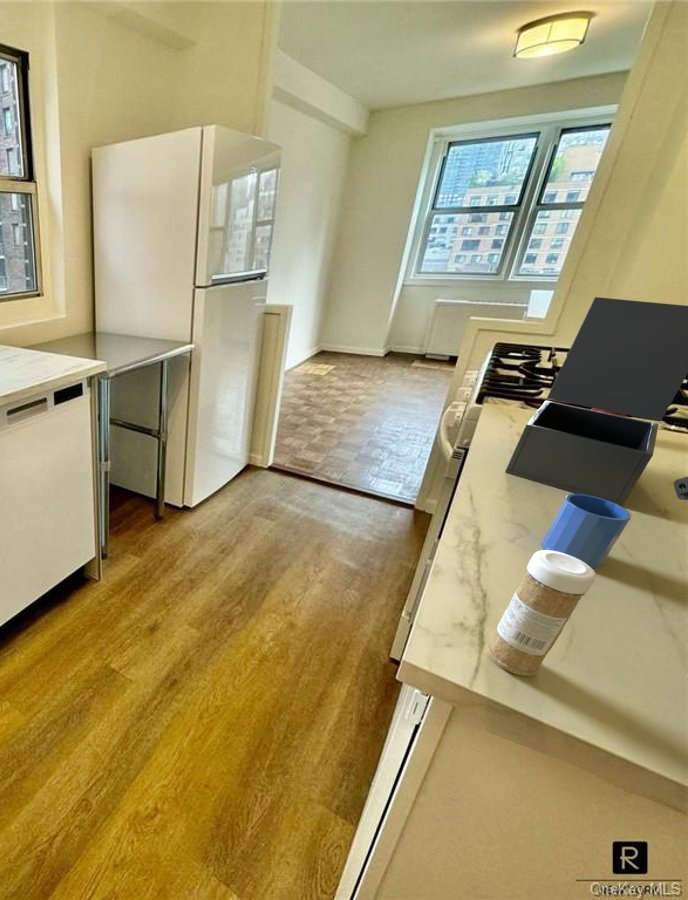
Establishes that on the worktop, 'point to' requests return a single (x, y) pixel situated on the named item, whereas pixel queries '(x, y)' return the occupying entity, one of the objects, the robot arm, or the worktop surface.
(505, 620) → the sprinkles bottle
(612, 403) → the door
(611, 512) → the cup
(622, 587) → the worktop surface
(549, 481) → the grey storage bin
